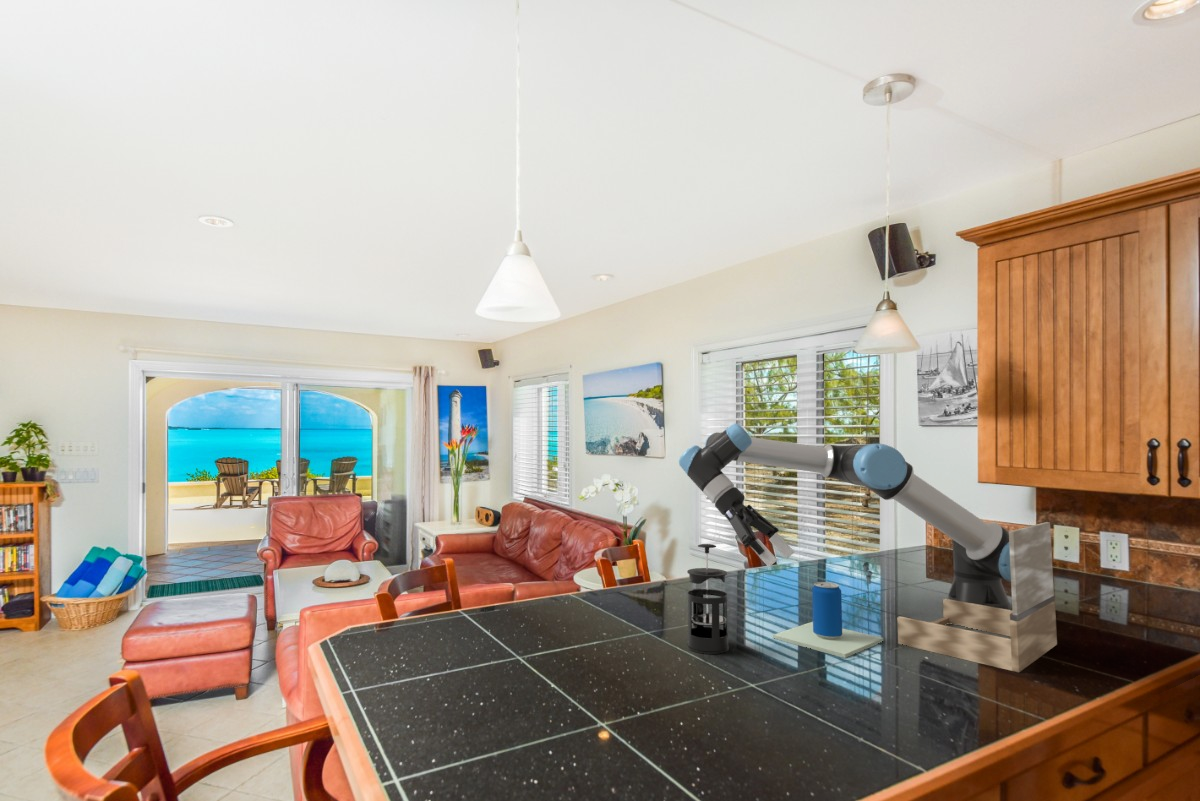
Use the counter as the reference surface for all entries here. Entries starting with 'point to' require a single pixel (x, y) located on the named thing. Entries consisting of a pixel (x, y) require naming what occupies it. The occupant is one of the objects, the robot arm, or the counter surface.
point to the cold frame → (999, 613)
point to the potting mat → (829, 640)
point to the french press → (700, 636)
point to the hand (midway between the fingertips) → (782, 559)
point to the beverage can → (827, 610)
